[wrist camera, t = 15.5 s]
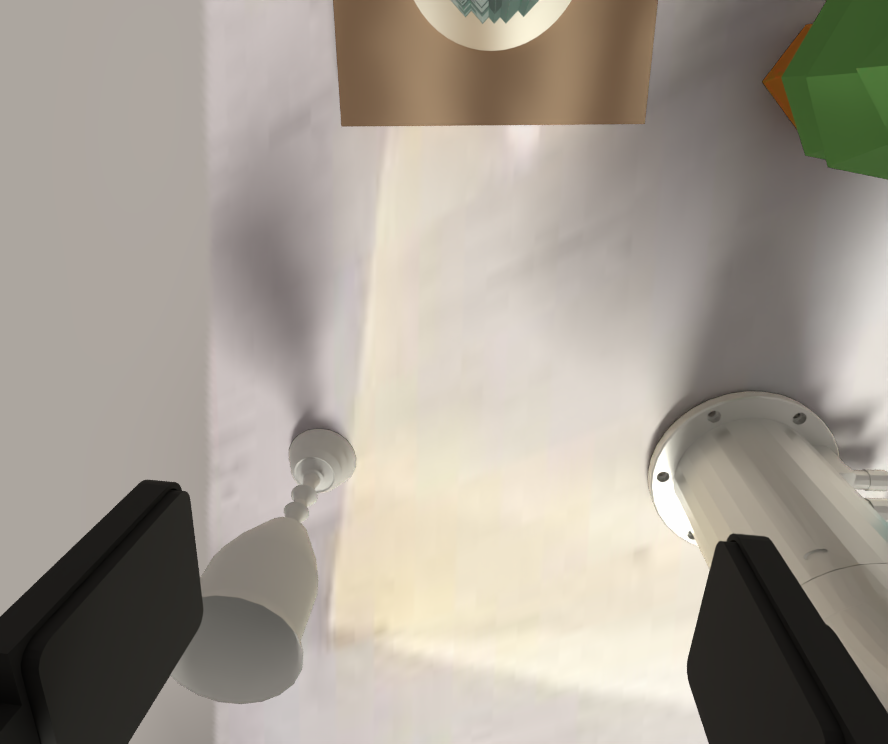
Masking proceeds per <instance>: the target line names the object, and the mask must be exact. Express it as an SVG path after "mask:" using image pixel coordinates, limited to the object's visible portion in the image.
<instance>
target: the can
mask: <svg viewBox="0 0 888 744" xmlns="http://www.w3.org/2000/svg"><path fill="white" fill-rule="evenodd" d="M451 1H452V3H453V4H454V5H455V6H456V7H457V8H458V9H459V11H460V12H461V13H462V14H463V15H464V16H465V17H466V16H467V15H468V14H469V13H470V12H471V11H472V12H473V13H474V15H475V16H476V17H477V18H478V19H479V20H480V22H481V23H482V24H483V23H484V22H485V21H486V20H487V19H488V18H490V20H491V21H492V22H493V23H494V24H495V23H496V21H497V20H498V19H499V18H501V19H502V20H503V21H504V22H505V24H506V23H507V22H508V21H509V20H510V19H511V18H512V17H513V15H514V14H515V13H516V12H517V11H519V12H520V14H521V15H522V16H523V17H524V16H525V15H526V14H527V13H528V12H529V11H530V10H531V9H532V7H533V6H534V5H535V4H536V3H537V2H538V1H539V0H451Z"/></svg>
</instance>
